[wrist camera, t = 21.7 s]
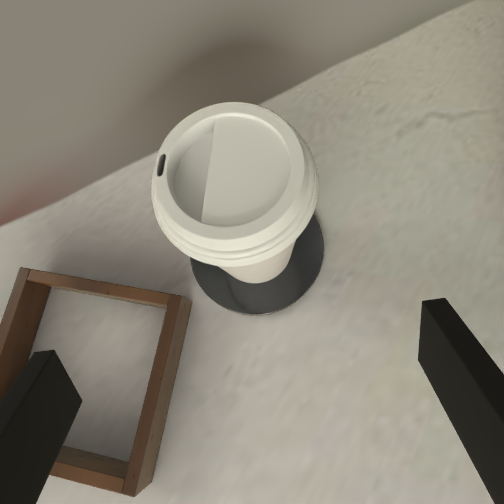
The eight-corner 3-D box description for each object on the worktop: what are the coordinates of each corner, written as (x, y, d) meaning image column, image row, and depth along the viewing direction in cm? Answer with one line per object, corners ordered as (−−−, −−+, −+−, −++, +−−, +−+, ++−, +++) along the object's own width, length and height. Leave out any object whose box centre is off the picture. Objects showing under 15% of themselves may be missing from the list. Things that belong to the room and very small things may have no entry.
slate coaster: (331, 197, 35) (332, 194, 35) (312, 327, 32) (313, 326, 32) (206, 180, 37) (205, 177, 37) (178, 302, 34) (176, 301, 34)
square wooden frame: (192, 301, 34) (181, 295, 31) (151, 482, 30) (134, 497, 27) (45, 275, 36) (19, 266, 33) (-10, 441, 33) (-44, 450, 29)
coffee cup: (234, 182, 36) (194, 65, 22) (327, 224, 34) (352, 126, 20) (183, 271, 34) (103, 208, 20) (278, 320, 32) (267, 290, 18)
